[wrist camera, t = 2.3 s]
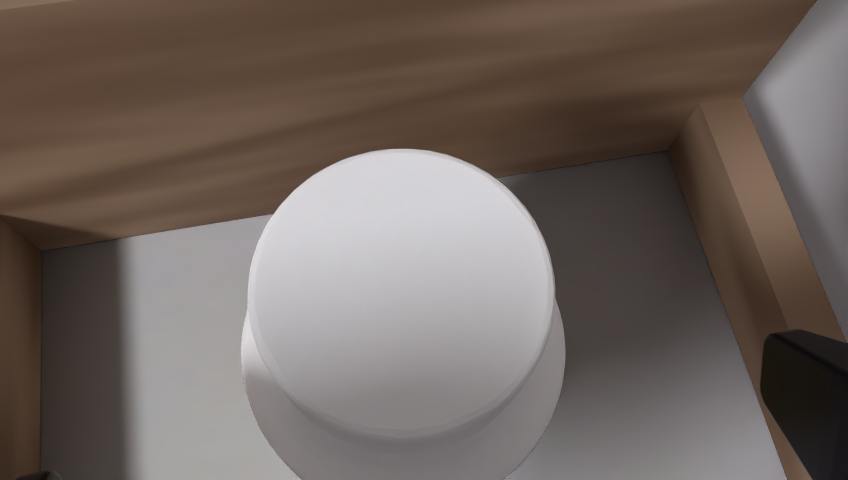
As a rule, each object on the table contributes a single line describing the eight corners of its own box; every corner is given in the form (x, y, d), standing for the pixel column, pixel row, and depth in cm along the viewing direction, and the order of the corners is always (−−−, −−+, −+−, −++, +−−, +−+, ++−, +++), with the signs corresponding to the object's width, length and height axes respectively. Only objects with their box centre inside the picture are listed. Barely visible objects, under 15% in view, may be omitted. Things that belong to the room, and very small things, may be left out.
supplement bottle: (475, 284, 19) (537, 67, 10) (540, 486, 17) (688, 437, 8) (279, 335, 19) (161, 150, 10) (324, 552, 17) (230, 574, 8)
